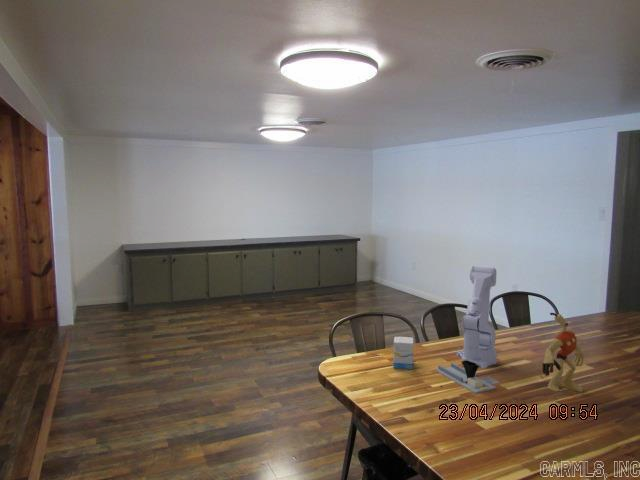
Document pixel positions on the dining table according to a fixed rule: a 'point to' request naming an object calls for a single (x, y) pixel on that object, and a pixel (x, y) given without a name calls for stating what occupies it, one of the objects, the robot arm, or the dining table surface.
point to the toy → (563, 357)
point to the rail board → (461, 377)
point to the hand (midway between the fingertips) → (470, 379)
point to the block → (475, 382)
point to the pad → (489, 380)
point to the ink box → (403, 353)
